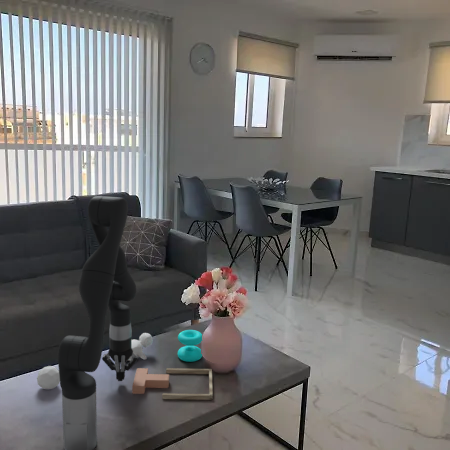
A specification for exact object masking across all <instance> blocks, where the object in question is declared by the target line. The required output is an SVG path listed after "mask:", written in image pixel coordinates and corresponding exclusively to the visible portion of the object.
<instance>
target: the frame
mask: <svg viewBox="0 0 450 450" xmlns="http://www.w3.org/2000/svg"><path fill="white" fill-rule="evenodd" d="M212 370H213V369H212V368H181V367H179V368H177V367H176V368H172V367H169V368H168V367H166V369H165V374H180V375H182V374H186V375H188V374H193V375H196V374H197V375H208V383H209V385H208V389H209V390H208V391H209V392H208V393H165V392H163V393H162V397H161V398H162V400H199V401H200V400H202V401H203V400H205V401H206V400H207V401H208V400H210V401H212V400H213V397H214V396H213V393H214V392H213V371H212Z"/></svg>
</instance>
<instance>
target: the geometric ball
mask: <svg viewBox="0 0 450 450" xmlns="http://www.w3.org/2000/svg"><path fill="white" fill-rule="evenodd" d="M37 374H38V375H37V377H36V379H37V385H38V386H39V387H40V388H41V389H44V390H48V391H49V390H53V389H55V388H56V387H57V386H58V385H60V376H59V368H57V367H55V366H52V365H48V366H44V367H42V368H41V369H40V370H39V371H38V373H37Z"/></svg>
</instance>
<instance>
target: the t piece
mask: <svg viewBox="0 0 450 450" xmlns="http://www.w3.org/2000/svg"><path fill="white" fill-rule="evenodd" d="M169 385H170V373H165V374H164V373H163V374H162V373H161V374H160V373H158V374H157V373H154V374H153V373H149V368H144V367H143V368H141V367H139V368H136V371H135V374H134V379H133V383H132V386H131V389H132V394H133V395H144V394H145V391H146V388H148V389H150V388H151V389H169Z"/></svg>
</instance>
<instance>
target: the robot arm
mask: <svg viewBox="0 0 450 450" xmlns="http://www.w3.org/2000/svg"><path fill="white" fill-rule="evenodd" d="M128 212H129V205H128V201H127V199H125V198H124V197H119V196H118V197H117V196H104V195H98V196H97V195H96V196H93V197H91V199H90V200H89V202H88V206H87V215H88V216H87V217H88V220H89V224H90V226H91V229H92V231H93V234H94V236H95V239H96V241H97V244H98V248H97V249H96V250H94V252H93V253H91V255H90V256H89V257H88V258H87V260H85V263H84V264H83V266H82V269H81V274H80V279H79V280H80V281H79V285H78V291H79V295H80V298H81V300H82V303H83V305H84V308H85V310H86V312H87V317H88V320H89V330H88V331H89V333H88V336H82V335H81V336H80V335H66V336H65V337H64V338H62V340H60V343H59V347H58V351H57V365H58V370H59V376H60V382H59V385H60V386H59V387H60V388H61V400H62V402H61V403H62V437H63V438H62V439H63V440H62V441H63V450H94V449H95V447H96V446H97V444H98V432H97V431H98V428H97V426H98V425H97V424H98V423H97V420H98V419H97V381H96V379H95V377H94V376H92V375H91V374H90V373H94V372H95V371H96V370H97V369H98V367H99V365H100V363H101V359H102V361H103V362H104V364H106V366H107V367H108V368H109V369H110V370H111V371H115V375H116V376H115V377H116V380H117V382H123V380H125V376H126V371H127V372H128V371H130V370H131V368H132V367H133V366H134V365H135V364H136V363H137V361H139V358H140V357H139V356H138V355H135V354H134V353H133V350H132V348H131V341H132V340H133V339H132V337H133V336H132V332H133V331H132V322H131V321H132V313H131V312H132V311H131V310H132V309H131V307H130V306H129V305H126V304H124V303H122V302H131V301H133V300H134V299H135V298H136V296H137V285H136V283H135V280H134V279H133V277H132V275H131V273H130V271H129V269H128V263H127V258H126V254H125V251H124V250H123V248H122V246H121V242H122V238H123V235H124V231H125V227H126V223H127V218H128ZM121 301H122V302H121ZM108 310H109V330H108V332H109V334H108V335H109V349H108V351H107V353H104V354H103V356H102V353H103V347H104V346H103V345H104V337H105V328H106V321H107V315H108ZM131 356H132V357H131ZM130 357H131V361H129V362H128V363H127V361H128V359H129V358H130ZM126 363H127V364H126Z"/></svg>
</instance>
